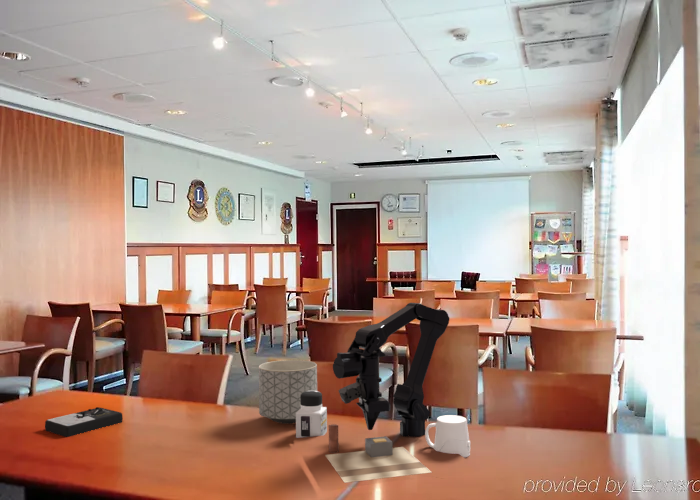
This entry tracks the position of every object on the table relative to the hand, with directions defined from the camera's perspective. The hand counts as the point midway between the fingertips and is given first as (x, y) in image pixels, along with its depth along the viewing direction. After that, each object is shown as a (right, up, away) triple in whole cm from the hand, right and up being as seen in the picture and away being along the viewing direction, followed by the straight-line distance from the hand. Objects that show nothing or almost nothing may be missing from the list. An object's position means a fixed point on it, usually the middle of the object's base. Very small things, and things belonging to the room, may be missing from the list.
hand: (369, 429), depth 167 cm
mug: (+21, -5, -5) cm, 22 cm away
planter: (-26, -6, +29) cm, 39 cm away
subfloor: (+1, -5, -15) cm, 16 cm away
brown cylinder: (-10, -5, -5) cm, 13 cm away
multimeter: (-91, -7, +26) cm, 95 cm away
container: (-17, -6, +13) cm, 22 cm away
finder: (+2, -4, -8) cm, 9 cm away
